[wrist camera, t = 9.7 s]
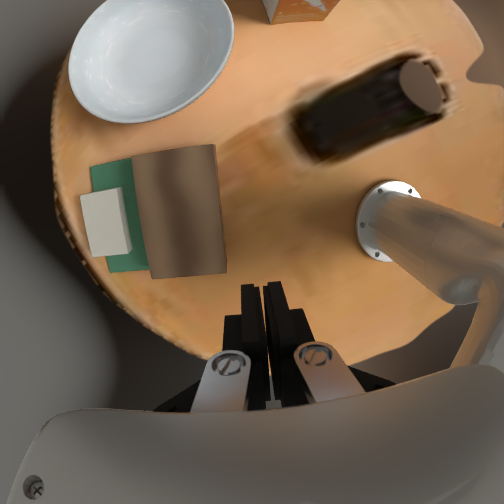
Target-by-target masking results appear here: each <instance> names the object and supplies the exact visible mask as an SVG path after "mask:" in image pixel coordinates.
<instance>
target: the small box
mask: <svg viewBox="0 0 504 504" xmlns="http://www.w3.org/2000/svg"><path fill="white" fill-rule="evenodd" d="M262 1H263V4H264V7H265V9H266V12H267V15H268V18H269V21H270V24H271V25H272V24H278V23H287V22H299V21H323V20H324V19H325V18H326V17H327V16H328V14H329V13H330V12H331V11H332V9H333V8H334V7H335V6H336V5H337V3H338V2H339V1H340V0H262Z"/></svg>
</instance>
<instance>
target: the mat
mask: <svg viewBox="0 0 504 504" xmlns="http://www.w3.org/2000/svg"><path fill="white" fill-rule="evenodd" d="M90 170H91V178H92V185H93V192H95V191H100V190H106V189H111V188H116V187H122V190H123V197H124V203H125V210H126V216H127V221H128V227H129V232H130V238H131V243H132V248H133V249H132V250H131V251H130V252H129V253H128V254H120V255H110V256H106V257H107V262H108V265H109V269H110V273H113V272H125V271H137V270H149V269H150V268H149V264H148V259H147V254H146V249H145V244H144V239H143V234H142V228H141V222H140V217H139V210H138V204H137V197H136V190H135V183H134V175H133V167H132V158H128V159H123V160H119V161H114V162H109V163H105V164H101V165H96V166H92V167H90Z"/></svg>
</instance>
